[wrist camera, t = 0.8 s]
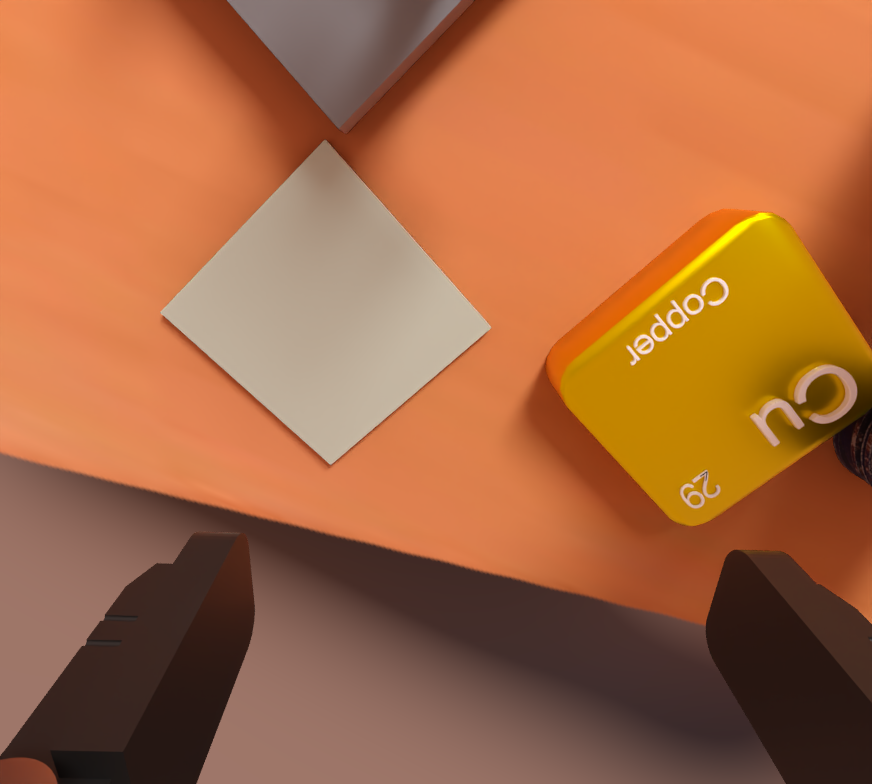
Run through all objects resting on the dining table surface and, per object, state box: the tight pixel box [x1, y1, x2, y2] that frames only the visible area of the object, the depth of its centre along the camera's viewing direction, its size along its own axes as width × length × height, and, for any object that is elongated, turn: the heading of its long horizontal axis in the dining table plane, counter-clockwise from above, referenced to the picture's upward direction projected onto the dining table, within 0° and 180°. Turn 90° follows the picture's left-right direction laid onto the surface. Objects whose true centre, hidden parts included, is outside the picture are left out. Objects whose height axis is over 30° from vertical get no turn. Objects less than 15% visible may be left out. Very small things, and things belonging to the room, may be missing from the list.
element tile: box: [545, 209, 872, 526], centre depth 33 cm, size 15×15×5 cm
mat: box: [160, 140, 491, 465], centre depth 33 cm, size 14×14×1 cm
